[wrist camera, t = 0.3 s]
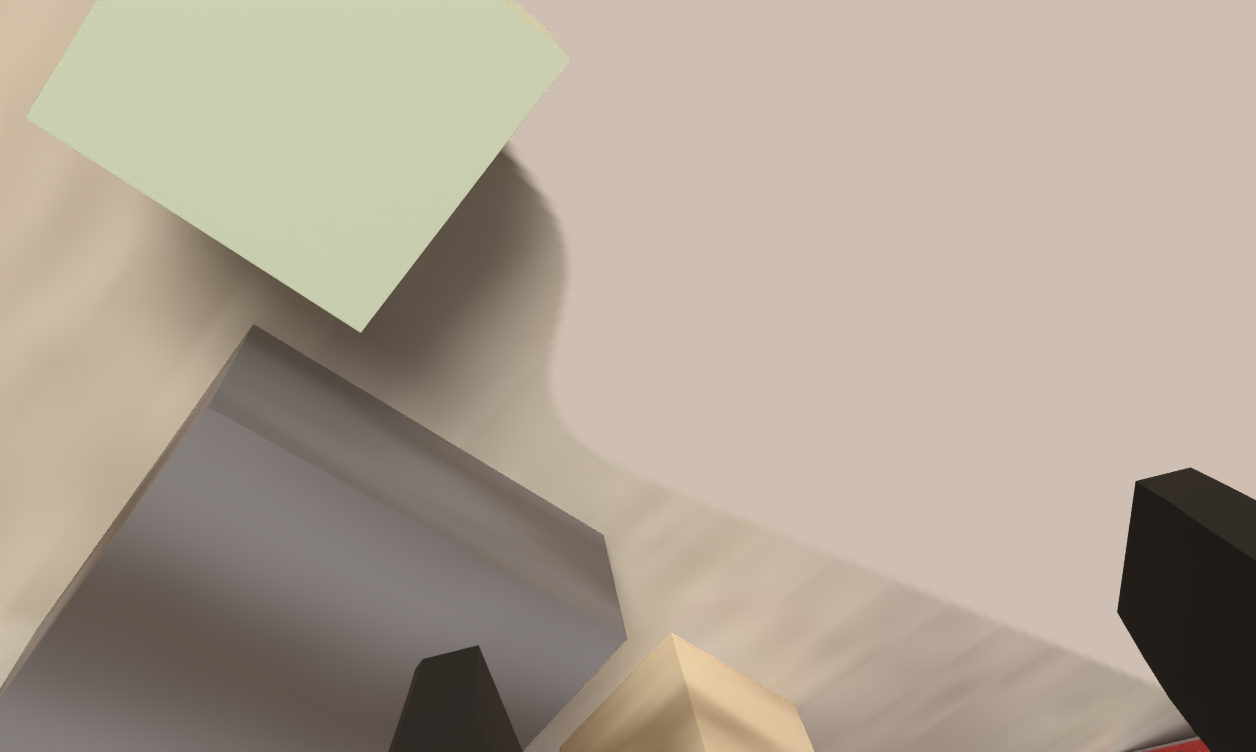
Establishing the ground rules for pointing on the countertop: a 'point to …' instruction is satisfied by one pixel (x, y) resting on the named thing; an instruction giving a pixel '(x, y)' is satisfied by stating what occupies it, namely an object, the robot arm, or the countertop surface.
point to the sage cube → (303, 123)
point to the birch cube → (690, 710)
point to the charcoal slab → (308, 583)
